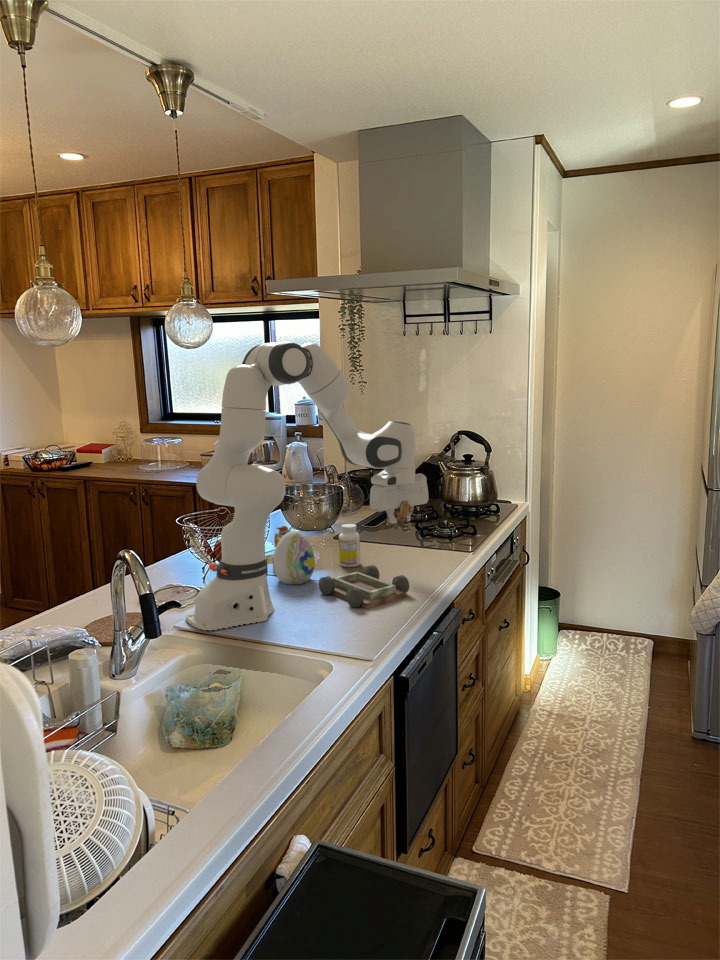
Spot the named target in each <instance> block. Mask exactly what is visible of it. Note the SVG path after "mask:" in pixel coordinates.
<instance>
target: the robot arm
mask: <svg viewBox="0 0 720 960" xmlns="http://www.w3.org/2000/svg"><path fill="white" fill-rule="evenodd" d="M295 383H298V384H300V385H301V387H302V388H303V390H304V391H305V392H306V394H307V396H308V397H309V398H310V399H311V401H312V402H313V403H314V405H315V406H316V408H317V409H318V411H319V412H320V414H321V416H322V417H323V419H324V421H325V422H326V424H327V425H328V426H329V428H330V430H331V431H332V433H333V435H334V436H335V438H336V440H337V441H338V444H339V448H340V452H341V455H342V457H343V458H344V460H345V461H346V463H348V464H350V465H353V466H363V467H366V468H367V467H368V468H373V469H381V468H384V469H383V470H381V471H380V472H379V473H376V474H374V475H373V476H371V478H370V482H371V484H372V486H371V488H370V490H369V491H370V492H369V507H370V509H371V510H372V511H375V512H378V513H379V512H380V513H381V512H385V511H386V512H385V513H386V515H387V514H388V516H389V517H390V518H389V520H390V521H389V524H390V525H394V524H395V523H397V524H398V521H397V518H395V516H394V514H393V513H394V512H395V509H398V508H399V506H400V504H401V502H402V501H408V504H409V505H410V506H411V507H413V508H414V509H415V506H419V505H425V504H427V503H428V502H429V500H430V499H429V489H428V488H429V487H428V483H427V479H428V478H427V476H426V475H425V474H423V473H422V472H421V473H416V464H415V460H414V459H415V458H414V457H415V453H416V435H415V429H414V427H413V425H412V424H410V423H408V422H405V421H404V422H403V421H396V420H395V421H394V420H390V421H388V422H386V424H385V425H384V426H383V427H382V428H380V429H378V430H377V431H375V432H373V433H371V432H370V433H368V432H365V431H362V430H360V429H358V428H357V427H356V426H355V424H354V422H353V421H352V419H351V418H350V416H349V415H348V412H347V411H346V410H345V408H344V405H345V404H346V403H347V401H348V399H349V397H350V393H351V387H350V384H349V382H348V380H347V378H346V376H345V375H344V373H343V372H342V369H340V367H339V365H337V363H336V362H335V361H334V360H333V359H332V357H331V356H330V355H329V354H328V353H327V352H326V351H325V350H324V349H323V348H322V347H321V346H320V345H318V344H317V343H314V342H307V343H303V344H302V345H300V344H298V343H295V342H293V341H287V340H286V341H270V342H265V343H263V344H258V345H255V346H253V347H252V348H250V349H249V351H247V352H246V354H245V356H244V358H243V360H242V363H241V364H240V365H236V366H233V367H232V368H230V369H229V370H228V372H227V374H226V377H225V381H224V386H223V392H222V399H221V414H220V415H221V417H220V427H219V429H220V430H219V437H218V441H217V446H216V448H215V450H214V453H213V454H212V457H211V458H210V460H209V461H208V462H207V464H205V465H204V466H203V467H202V468H201V469H200V470H199V472H198V474H197V477H196V481H195V483H196V484H195V485H196V486H195V487H196V490H197V493H198V495H199V497H200V498H202V499H203V500H205V501H208V502H209V503H213V504H215V505H219V506H220V505H221V506H228V507H234V515H233V518H232V520H231V522H229V523H227V524H226V525H225V526H224V527H223V528H222V529H221V532H220V542H221V543H220V544H221V547H220V548H221V561H220V562H219V564H217V563H215V562H210V563H209V564H208V569H209V570H210V571H212V572H215V573H216V575H215V577H214V578H213V579H212V580H210V581H209V583H208V584H207V585H205V586H204V587H203V588H202V589H201V590H200V591H199V592H198V593H197V595H196V597H195V601H194V602H195V603H194V610H192V611H189V612H187V613H186V615H185V616H186V617H185V618H186V619H185V620H186V621H187V623H188V624H189V625H190V626H192V627H194V628H196V629H198V630H201V629H202V630H201V631H206V630H209V631H208V632H213V631H212V630H215V631H218V630H217V629H220V630H222V629H221V628H225V629H228V628H227V627H231V628H233V627H232V626H236V627H239V626H238V625H241V626H244V625H243V624H246V625H251V624H250V623H252V624H256V622H257V623H262V622H266V621H267V620H268V618H269V616H270V615H271V614H272V613H273V612H274V610H275V608H274V606H273V605H274V604H273V601H272V599H271V595H270V591H269V585H268V578H267V577H268V572H269V571H268V559H267V557H266V539H265V538H266V527H267V522H268V519H269V517H270V516H271V513H272V512H273V511H274V510H275V508H277V507H278V506H279V505H280V504H281V503H282V502H283V500H284V498H285V494H286V482H285V478H284V477H283V475H282V474H281V473H280V472H279V471H277V470H274V469H273V468H270V467H266V466H263V465H253V464H248V462H249V458H250V456H251V455H252V452H253V451H254V450H255V449H257V448H259V447H261V445H262V444H263V442H264V440H265V434H266V433H265V432H266V414H267V413H266V411H267V409H266V408H267V396H268V391H270V388H271V386H275V387H277V386H284V385H292V384H295ZM414 509H413V511H414ZM413 511H412V513H413ZM411 515H412V514H410V513H409V515H408V516H407V517H406V519H405V520H404V522H410V521H411V518H412V517H411ZM210 630H211V631H210Z"/></svg>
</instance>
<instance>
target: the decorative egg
mask: <svg viewBox="0 0 720 960" xmlns="http://www.w3.org/2000/svg"><path fill="white" fill-rule="evenodd" d="M290 531H291V530H290ZM282 536H283V535H282ZM273 556H274V557H272V567H273V566H274V569H273V571H274V570H275V571H274V572H275V576H276V577H277V578H278V580H279V581H280V582H281V583H282V584H285V585H291V586H292V585H301V584H304V583H308V581H310V580H311V577H312V575H313V573H314V571H315V566H316V561H315V560H316V557H315V554H314V549H313V547H312V545H311V543H310V541H309V540H308V538H306V536H305V535H304V534H302V533H301V532H299V531H295V530H292V531H291V532H288V533H286V534H285V535H284V536H283V537H282V538H281V539H280V541H279V542H278V544H277V546H276V547H275V549H274V552H273Z"/></svg>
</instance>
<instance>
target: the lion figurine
mask: <svg viewBox="0 0 720 960" xmlns="http://www.w3.org/2000/svg"><path fill="white" fill-rule="evenodd" d="M413 509H415V507H414V508H413V507H411V506H410V505H409V504H408V501H402V502H401V504H400V506H399V508H398V509H395V512H394V513H393V514H394V516H395V518H397V523H395V524H393V530H394V531H399V530H398V529H399V528H400V529H401V530H405V529H406V527H405V526H404V524H405V521H404V520H405V519H406V517H407V516H408V515H409V513H410V514H411V515H412V514H413V512H412V511H414V510H413ZM386 517H387V518H385V519H384V522H386V524H385V526H386V527H389V526H390V525H391V523H390V517H389V516H388V514H387V513H386ZM398 521H399V522H400V527H398Z"/></svg>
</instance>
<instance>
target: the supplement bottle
mask: <svg viewBox="0 0 720 960" xmlns="http://www.w3.org/2000/svg"><path fill="white" fill-rule="evenodd" d="M360 538H361V537H360V534H359V532H357V524H355V523H345V524H342V525H341V533H339V535H338V552H339V553H338V556H339V557H338V558H339V565H340V566H341V567H343V568H355V567H358V566H360V565H361V543H360V542H361V539H360Z"/></svg>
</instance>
